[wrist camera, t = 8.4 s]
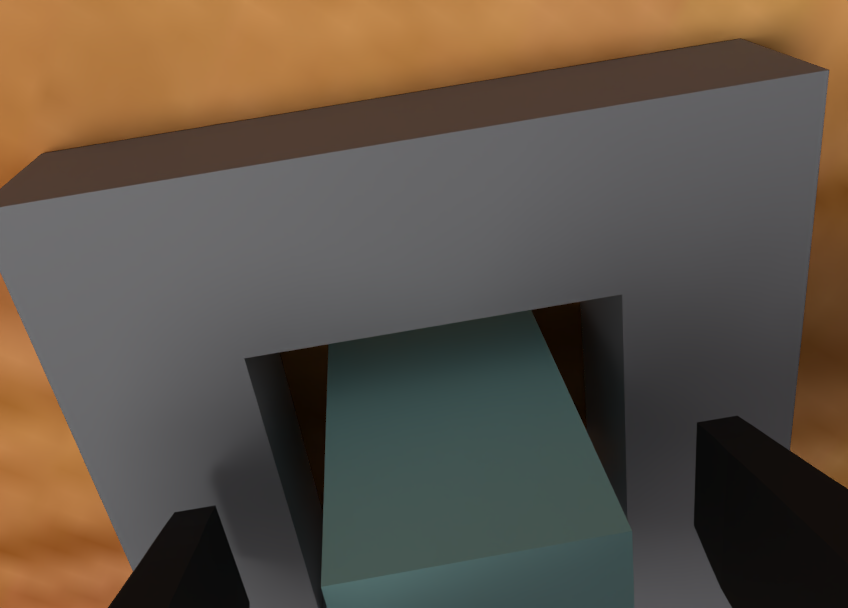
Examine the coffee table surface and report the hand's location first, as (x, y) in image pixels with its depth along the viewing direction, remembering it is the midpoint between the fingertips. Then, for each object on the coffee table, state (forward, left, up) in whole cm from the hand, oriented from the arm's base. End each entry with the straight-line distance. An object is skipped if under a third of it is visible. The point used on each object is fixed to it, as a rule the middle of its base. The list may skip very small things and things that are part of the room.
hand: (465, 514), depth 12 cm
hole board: (0, 0, -3) cm, 3 cm away
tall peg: (0, 0, -3) cm, 3 cm away
